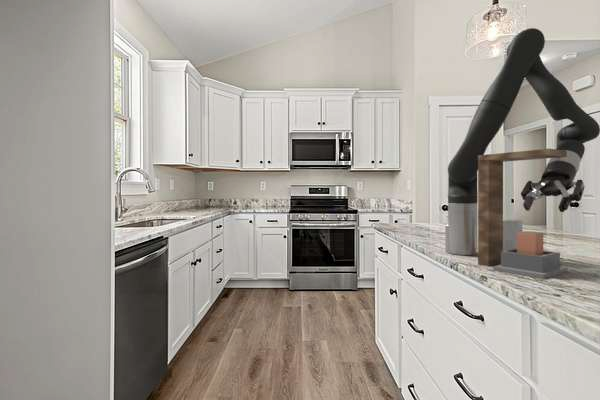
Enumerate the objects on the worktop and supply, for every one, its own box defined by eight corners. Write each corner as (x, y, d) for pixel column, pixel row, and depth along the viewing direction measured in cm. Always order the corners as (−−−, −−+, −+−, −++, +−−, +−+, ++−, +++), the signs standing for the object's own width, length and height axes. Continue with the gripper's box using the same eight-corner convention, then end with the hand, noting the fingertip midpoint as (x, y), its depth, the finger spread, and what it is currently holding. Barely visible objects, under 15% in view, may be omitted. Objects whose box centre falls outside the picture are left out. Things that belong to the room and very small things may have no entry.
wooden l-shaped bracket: (476, 264, 103) (476, 155, 102) (494, 261, 108) (494, 157, 108) (548, 277, 87) (549, 148, 87) (565, 271, 93) (566, 151, 92)
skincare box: (508, 255, 117) (508, 219, 117) (522, 257, 114) (523, 220, 114) (502, 258, 113) (502, 220, 112) (517, 260, 110) (517, 221, 109)
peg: (516, 266, 95) (516, 233, 95) (524, 264, 98) (524, 231, 97) (535, 269, 91) (535, 234, 91) (543, 267, 94) (543, 233, 94)
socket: (493, 270, 96) (493, 251, 95) (518, 264, 103) (518, 246, 103) (543, 278, 86) (543, 258, 85) (567, 271, 93) (567, 252, 93)
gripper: (530, 161, 109) (511, 199, 103) (587, 157, 97) (569, 200, 91) (538, 179, 112) (520, 217, 106) (594, 177, 100) (577, 220, 94)
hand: (543, 209), depth 98 cm, fingers open, 8 cm apart
